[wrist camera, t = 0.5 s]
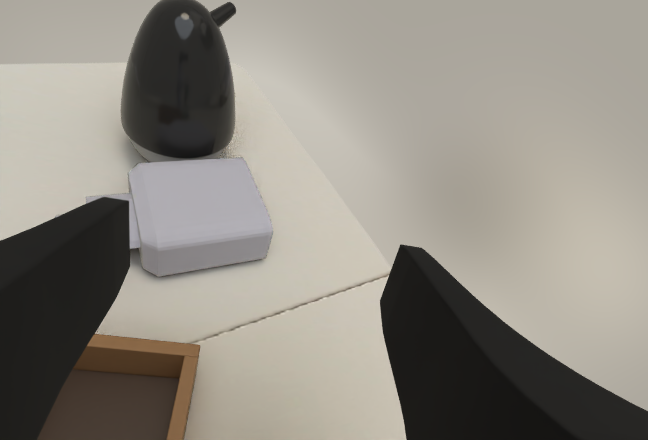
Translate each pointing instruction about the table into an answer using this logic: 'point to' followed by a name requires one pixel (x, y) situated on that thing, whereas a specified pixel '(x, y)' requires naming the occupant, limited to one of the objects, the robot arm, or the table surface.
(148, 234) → the charger
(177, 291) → the table surface
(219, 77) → the pump dispenser
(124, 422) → the divided box
